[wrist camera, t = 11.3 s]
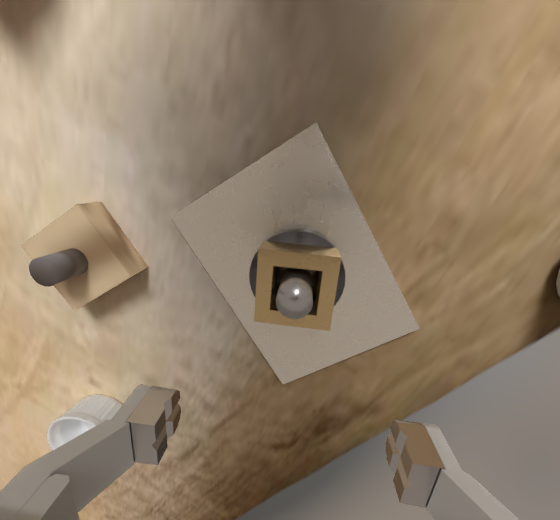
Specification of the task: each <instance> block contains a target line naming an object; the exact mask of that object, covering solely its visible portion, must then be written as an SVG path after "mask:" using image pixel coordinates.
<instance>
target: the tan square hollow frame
mask: <svg viewBox="0 0 560 520" xmlns="http://www.w3.org/2000/svg"><path fill="white" fill-rule="evenodd" d="M341 258H342V257H341V255H340V253H339V251H338V249H337V248H332V247H323V246H313V245H303V244H293V243H283V242H273V241H263V243H262V244H261V246H260V247H259V248H258V262H257V279H256V296H255V312H254V322H261V323H269V324H277V325H285V326H294V327H302V328H310V329H318V330H326V331H330V327H331V321H332V315H333V308H334V302H335V296H336V289H337V283H338V277H339V270H340V264H341ZM276 266H280V267H289V268H298V269H307V270H317V271H319V277H318V284H317V292H316V299H315V300H313V306H312V309H311V311H310V312H309V314H308V315H306V316H305V317H303V318H300V319H290V318H287V317H285V316H283V315H282V314H281V313H280V312H279V311H278V309H277V306H276V297H277V296H274V287H275V275H276Z"/></svg>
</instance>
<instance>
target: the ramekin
mask: <svg viewBox="0 0 560 520" xmlns="http://www.w3.org/2000/svg"><path fill="white" fill-rule="evenodd" d="M122 405H123V404H121V403H120V402H119V401H117V400H116V399H114V398H112V397H109V396H106V395H99V394H96V395H90V396H87V397H85V398H83V399H82V400H80V401H79V402H78V403H77V404H75V405H74V406H73V407H72V408H71V409H70V410H68V411H67V412H66V413H65V414H64V415H62V416H60V417H59V418H57V419H56V420H54V421H53V422H52V423H51V424H50V426H49V428H48V431H47V440H48V443H49V446H50V448H51V450H52V451H53V450H55V449H56V448H58V447H60V446H62V445H63V444H65V443H67V442H69V441H70V440H72V439H74V438H76V437H77V436H79V435H81V434H83V433H84V432H86V431H88V430H90V429H91V428H93V427H95V426H97V425H98V424H100V423H102V422H104V421H105V420H111V419H112V418H113V416H114V415H115V414H116V413H117V411H118V410H119V409H120V408H121V406H122Z"/></svg>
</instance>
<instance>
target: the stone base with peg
mask: <svg viewBox="0 0 560 520" xmlns="http://www.w3.org/2000/svg"><path fill="white" fill-rule="evenodd" d="M170 217H171V219H172V220H173V222H174V223H175V225H176V226H177V228H178V229H179V231H180V232H181V234H182V235H183V237H184V238H185V240H186V241H187V243H188V244H189V246H190V247H191V249H192V250H193V252H194V253H195V255H196V256H197V258H198V259H199V261H200V262H201V264H202V265H203V267H204V268H205V270H206V271H207V273H208V274H209V276H210V277H211V278H212V280H213V281H214V283H215V284H216V286H217V287H218V289H219V290H220V292H221V293H222V295H223V296H224V298H225V299H226V301H227V302H228V304H229V305H230V307H231V308H232V310H233V311H234V313H235V314H236V316H237V317H238V319H239V320H240V322H241V323H242V325H243V326H244V328H245V329H246V331H247V332H248V334H249V335H250V337H251V338H252V340H253V341H254V343H255V344H256V345H257V347H258V348H259V350H260V351H261V353H262V354H263V356H264V357H265V359H266V360H267V362H268V363H269V365H270V366H271V368H272V369H273V371H274V372H275V374H276V375H277V377H278V378H279V380H280V381H281V383H282V384H283V385H284V384H286V383H288V382H291V381H293V380H296V379H298V378H301V377H303V376H306V375H308V374H310V373H313V372H315V371H318V370H320V369H323V368H325V367H327V366H330V365H332V364H335V363H337V362H340V361H342V360H345V359H347V358H349V357H352V356H354V355H357V354H359V353H362V352H364V351H367V350H369V349H371V348H374V347H376V346H379V345H381V344H384V343H386V342H388V341H391V340H393V339H396V338H398V337H401V336H403V335H406V334H408V333H410V332H413V331H415V330H418V329H420V328H419V326H418V324H417V322H416V320H415V318H414V316H413V314H412V312H411V310H410V308H409V306H408V304H407V302H406V300H405V298H404V296H403V294H402V292H401V290H400V288H399V286H398V284H397V282H396V280H395V278H394V276H393V274H392V272H391V270H390V268H389V266H388V264H387V262H386V260H385V258H384V256H383V254H382V252H381V250H380V248H379V246H378V244H377V242H376V240H375V238H374V236H373V234H372V232H371V230H370V228H369V226H368V224H367V222H366V220H365V218H364V216H363V214H362V212H361V210H360V208H359V206H358V204H357V202H356V200H355V198H354V196H353V194H352V192H351V190H350V188H349V186H348V184H347V182H346V180H345V178H344V176H343V174H342V172H341V170H340V168H339V166H338V164H337V162H336V160H335V158H334V156H333V154H332V152H331V150H330V148H329V146H328V144H327V142H326V140H325V138H324V136H323V134H322V132H321V130H320V128H319V126H318V124H317V122H316V123H314V124H313V125H311V126H309V127H308V128H306V129H305V130H303V131H302V132H300V133H299V134H297V135H296V136H294V137H292V138H291V139H289V140H288V141H286V142H285V143H283V144H282V145H280V146H279V147H277V148H275V149H274V150H272V151H271V152H269V153H268V154H266V155H265V156H263V157H262V158H260V159H258V160H257V161H255V162H254V163H252V164H251V165H249V166H248V167H246V168H245V169H243V170H241V171H240V172H238V173H237V174H235V175H234V176H232V177H231V178H229V179H228V180H226V181H224V182H223V183H221V184H220V185H218V186H217V187H215V188H214V189H212V190H211V191H209V192H207V193H206V194H204V195H203V196H201V197H200V198H198V199H197V200H195V201H194V202H192V203H190V204H189V205H187V206H186V207H184V208H183V209H181V210H180V211H178V212H177V213H175V214H173V215H172V216H170ZM263 241H273V242H283V243H293V244H303V245H313V246H323V247H332V248H337V249H338V251H339V253H340V255H341V257H342V258H341V264H340V270H339V277H338V283H337V289H336V296H335V302H334V308H333V315H332V321H331V327H330V331H326V330H318V329H310V328H302V327H294V326H285V325H277V324H269V323H261V322H254V312H255V296H256V279H257V262H258V248H259V247H260V246H261V244H262V243H263ZM318 277H319V271H317V270H307V269H298V268H289V267H280V266H276V275H275V287H274V296H277V297H276V306H277V309H278V311H279V312H280V313H281V314H282V315H283V316H285V317H287V318H290V319H300V318H303V317H305V316H306V315H308V314H309V312H310V311H311V309H312V306H313V300H315V299H316V292H317V284H318Z"/></svg>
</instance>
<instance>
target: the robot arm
mask: <svg viewBox="0 0 560 520" xmlns="http://www.w3.org/2000/svg"><path fill="white" fill-rule="evenodd" d="M179 399H180V391H178V390H174V389H168V388H162V387H156V386H148V385H142V384H141V385H139V386H138V387H137V388H136V389H135V390H134V391H133V393H132V394H131V395H130V396H129V398H128V399H127V400H126V401H125V403H124V404H123V405H122V406H121V408H120V409H119V410H118V411H117V413H116V414H115V415H114V416H113V418H112V419H111V420H105V421H104V422H102V423H100V424H98V425H97V426H95V427H93V428H91V429H90V430H88V431H86V432H84V433H83V434H81V435H79V436H77V437H76V438H74V439H72V440H70V441H69V442H67V443H65V444H63V445H62V446H60V447H58V448H56V449H55V450H53V451H51V452H49V453H48V454H46V455H44V456H42V457H41V458H39V459H37V460H35V461H34V462H32V463H30V464H28V465H27V466H25V467H24V468H23V469H22V470H21V471H20V472H19V473H18V474H17V475H16V476H15V477H14V478H13V479H12V480H11V481H10V482H9V483H8V484H7V485H6V486H5V487H4V488H3V489H2V490H1V491H0V520H80V519H79V515H78V512H79V511H80V510H81V509H82V508H84V507H85V506H86V505H87V504H88V503H89V502H90V501H92V500H93V499H94V498H95V497H96V496H97V495H99V494H100V493H101V492H102V491H103V490H104V489H105V488H107V487H108V486H109V485H110V484H111V483H112V482H114V481H115V480H116V479H117V478H118V477H119V476H121V475H122V474H123V473H124V472H125V471H126V470H127V469H129V468H130V467H131V466H132V465H133V464H134V462H138V463H146V464H155V465H158V464H159V462H160V460H161V458H162V456H163V454H164V452H165V450H166V448H167V439H168V438H169V437H171V436H172V435H173V434H174V432H175V430H176V428H177V426H178V423H179V419H180V413H181V407H180V406H179V404H178V401H179ZM390 429H391V432H392V433H391V434H390V435H389V436H388V437H387V441H386V455H387V461H388V464H389V467H390V468H391V469H392V470H393V471H394V473H395V476H394V479H393V481H394V485H395V488H396V492H397V495H398V498H399V502H400V503H404V504H410V505H415V506H420V507H426V508H427V509H426V510H427V511H428V512H429V514H430V515H431V516H432V518H433V519H434V520H519V519H518V518H517V517H516V516H515V515H514V514H512V513H511V512H510V511H509V510H508V509H507V508H506V507H505V506H504V505H502V504H501V503H500V502H499V501H498V500H497V499H496V498H495V497H494V496H493V495H492V494H490V493H489V492H488V491H487V490H486V489H485V488H483V486H482V485H480V484H479V483H478V482H477V481H476V480H475V479H474V478H473V477H471V475H469V474H468V473H465V472H463V471H462V469H461V467H460V465H459V464H458V462H457V460H456V458H455V456H454V455H453V453H452V451H451V449H450V447H449V445H448V443H447V442H446V440H445V438H444V436H443V434H442V432H441V431H440V429H439V427H438V426H437V425H431V424H424V423H416V422H409V421H401V420H393V421H392V422H391V426H390Z"/></svg>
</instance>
